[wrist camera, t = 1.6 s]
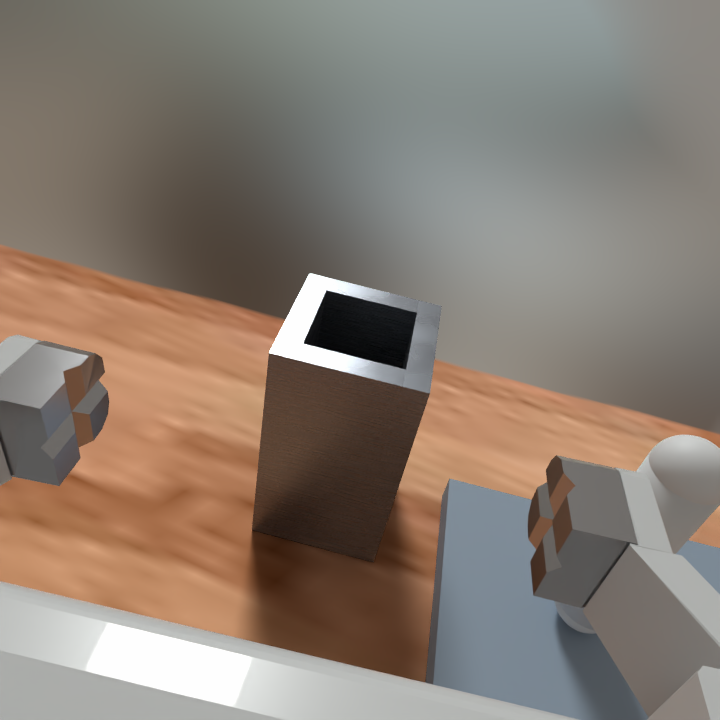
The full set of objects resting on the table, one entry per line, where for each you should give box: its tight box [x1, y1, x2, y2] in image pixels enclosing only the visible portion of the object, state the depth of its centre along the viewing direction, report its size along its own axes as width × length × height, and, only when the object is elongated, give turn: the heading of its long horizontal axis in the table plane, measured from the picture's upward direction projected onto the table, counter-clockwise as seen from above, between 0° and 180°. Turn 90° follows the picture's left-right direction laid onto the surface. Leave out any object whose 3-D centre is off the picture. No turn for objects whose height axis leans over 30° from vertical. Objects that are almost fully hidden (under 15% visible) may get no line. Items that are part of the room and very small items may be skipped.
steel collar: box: [252, 274, 441, 562], centre depth 27 cm, size 6×6×11 cm
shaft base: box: [426, 435, 720, 720], centre depth 23 cm, size 16×12×12 cm
